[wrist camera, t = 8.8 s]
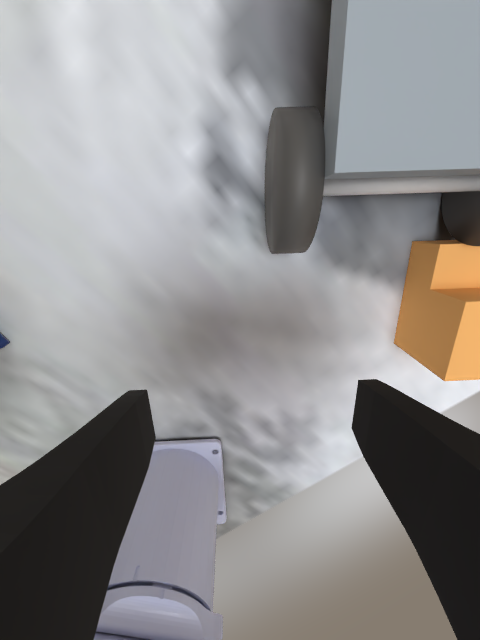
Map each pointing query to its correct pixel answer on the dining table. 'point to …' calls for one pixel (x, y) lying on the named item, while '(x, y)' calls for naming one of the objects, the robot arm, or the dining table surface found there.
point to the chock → (442, 309)
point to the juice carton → (3, 341)
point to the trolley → (383, 119)
